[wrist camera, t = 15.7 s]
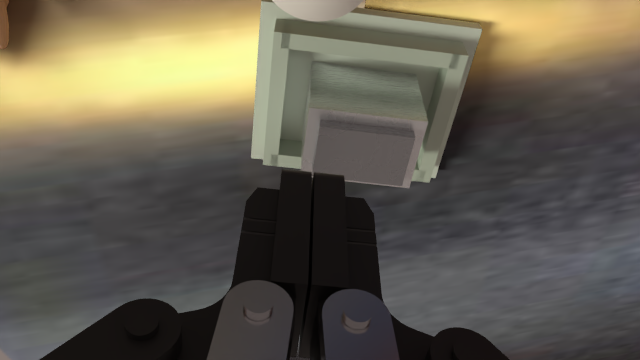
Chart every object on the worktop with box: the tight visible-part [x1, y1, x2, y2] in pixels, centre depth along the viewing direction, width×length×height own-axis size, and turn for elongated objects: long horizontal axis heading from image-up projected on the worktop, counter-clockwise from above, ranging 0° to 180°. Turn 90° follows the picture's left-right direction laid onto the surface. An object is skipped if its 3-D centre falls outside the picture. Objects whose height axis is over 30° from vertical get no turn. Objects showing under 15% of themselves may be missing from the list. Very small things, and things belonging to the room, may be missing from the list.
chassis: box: [251, 0, 482, 183], centre depth 39 cm, size 12×14×3 cm
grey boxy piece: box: [300, 61, 428, 188], centre depth 37 cm, size 5×7×7 cm
